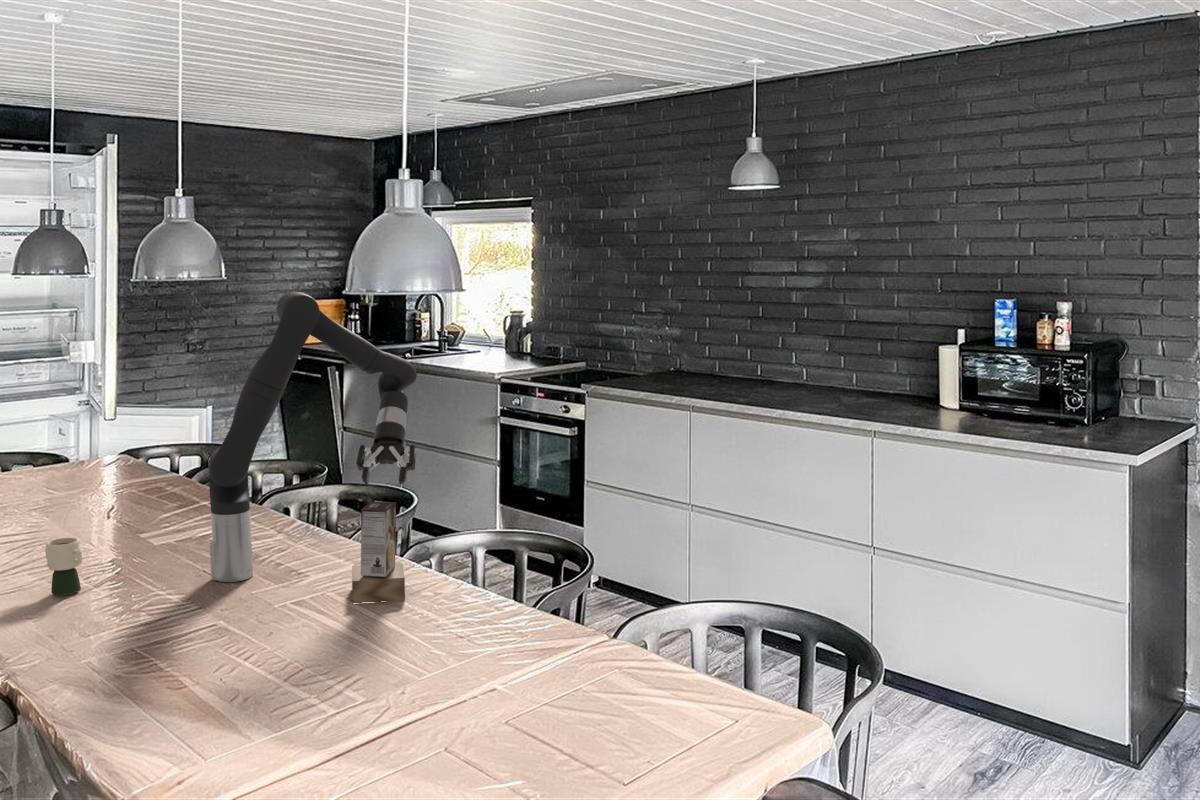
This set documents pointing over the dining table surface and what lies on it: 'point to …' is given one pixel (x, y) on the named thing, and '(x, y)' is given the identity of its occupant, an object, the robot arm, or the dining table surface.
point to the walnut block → (378, 586)
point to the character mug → (64, 564)
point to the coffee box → (378, 538)
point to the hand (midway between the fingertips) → (383, 482)
